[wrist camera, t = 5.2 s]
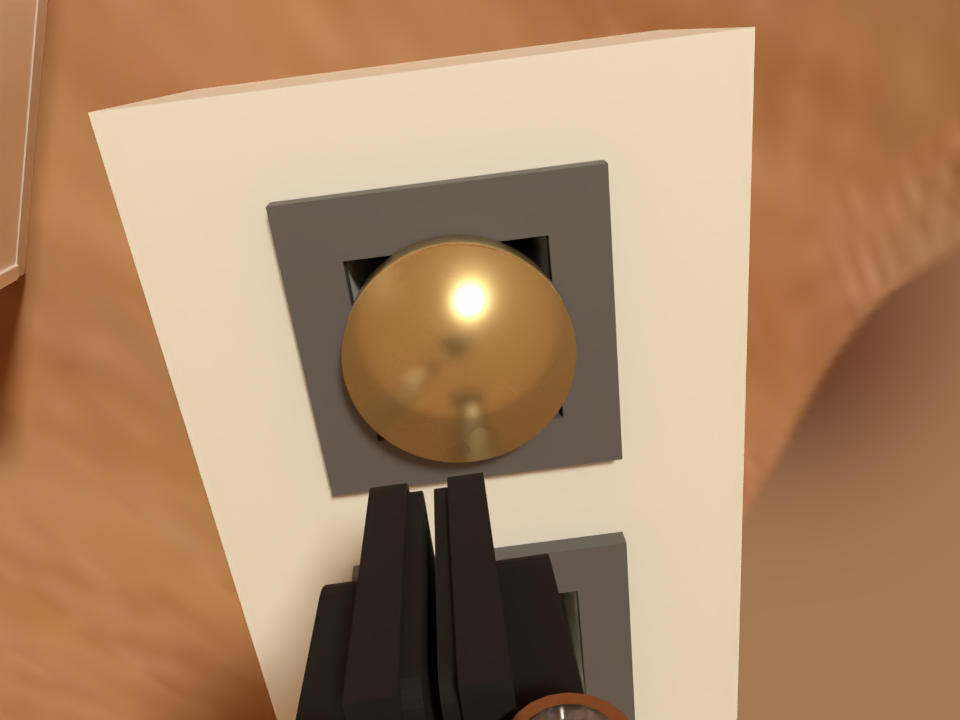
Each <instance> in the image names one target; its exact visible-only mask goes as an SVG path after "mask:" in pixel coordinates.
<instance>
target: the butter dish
mask: <svg viewBox="0 0 960 720" xmlns="http://www.w3.org/2000/svg"><path fill="white" fill-rule="evenodd" d="M47 8H48V0H0V289H2V288H4V287H5V286H7V285H9V284H11V283H12V282H14V281H16V280H18V277H20V276H21V275H23V274H24V273H25V262H26V250H27V239H28V227H29V216H30V204H31V193H32V181H33V170H34V158H35V146H36V135H37V123H38V112H39V100H40V89H41V77H42V66H43V54H44V43H45V31H46V20H47Z"/></svg>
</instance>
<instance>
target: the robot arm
mask: <svg viewBox="0 0 960 720" xmlns="http://www.w3.org/2000/svg"><path fill="white" fill-rule="evenodd" d="M434 525H435V556H434V550H433V544H432V538H431V533H430V527H429V521H428V515H427V509H426V503H425V498H424V493H423V491H415V492H410V490H409V486H408V484H407V483H401V484H394V485H387V486H380V487H373V488H370V490H369V496H368V504H367V512H366V519H365V527H364V535H363V543H362V551H361V558H360V566H359V574H358V580H357V581H350V582H343V583H336V584H328V585H324V586H323V587H322V590H321V593H320V596H319V602H318V607H317V612H316V617H315V622H314V627H313V632H312V637H311V642H310V648H309V653H308V658H307V663H306V668H305V673H304V678H303V683H302V689H301V694H300V699H299V704H298V709H297V714H296V719H295V720H629V719H628V718H627V717H626V715H625V714H624V713H623V712H621V711H620V710H619V709H617V708H616V707H614V706H613V705H612V704H610V703H609V702H607V701H605V700H602V699H599V698H597V697H594V696H591V695H588V694H584V691H583V687H582V683H581V679H580V675H579V671H578V667H577V663H576V659H575V655H574V651H573V647H572V643H571V639H570V635H569V631H568V628H567V624H566V620H565V616H564V612H563V608H562V604H561V600H560V596H559V592H558V588H557V584H556V580H555V576H554V572H553V568H552V564H551V560H550V557H549V555H548V553H547V554H540V555H533V556H526V557H519V558H512V559H505V560H498V561H496V559H495V552H494V545H493V538H492V531H491V524H490V517H489V510H488V503H487V496H486V489H485V482H484V475H483V472H480V473H473V474H466V475H459V476H452V477H447V487H444V488H436V489H434Z"/></svg>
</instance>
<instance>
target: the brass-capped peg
mask: <svg viewBox="0 0 960 720" xmlns="http://www.w3.org/2000/svg"><path fill="white" fill-rule="evenodd" d="M576 361H577V346H576V339H575V332H574V329H573V325H572V322H571V318H570V316H569V314H568V312H567V310H566V307H565V305H564V303H563V301H562V299H561V297H560V294H559V292H558V290H557V289H556V287H555V286H554V284H553V282H552V281H551V279H550V278H549V277H548V276H547V275H546V273H545V272H544V271H543V270H542V269H541V268H540V267H539V266H538V265H537V264H536V263H535V262H534V261H533V260H531V259H530V258H529V257H527V256H526V255H524V254H523V253H521V252H520V251H518V250H517V249H515V248H513V247H511V246H509V245H508V244H507V241H496V240H493V239H490V238H485V237H480V236H475V235H461V234H458V235H443V236H438V237H433V238H428V239H425V240H422V241H419V242H416V243H413V244H411V245H409V246H407V247H405V248H403V249H401V250H399V251H398V252H396V253H395V254H393V255H392V256H390V257H389V258H387V259H386V260H385V261H384V262H383V263H382V264H380V265H379V266H378V267H377V268H376V269H375V270H374V271H373V273H372V274H371V275H370V276H369V277H368V278H367V280H366V281H365V283H364V284H363V286H362V287H361V289H360V290H359V292H358V294H357V297H356V299H355V301H354V303H353V306H352V309H351V312H350V315H349V318H348V321H347V324H346V328H345V331H344V335H343V342H342V369H343V376H344V380H345V383H346V387H347V390H348V392H349V394H350V397H351V399H352V401H353V403H354V405H355V406H356V408H357V410H358V411H359V413H360V415H361V416H362V417H363V418H364V419H365V421H366V422H367V423H368V424H369V425H370V426H371V427H372V428H373V429H374V430H375V431H376V432H377V433H378V434H379V435H380V436H382V437H383V438H384V439H386V440H387V441H388V442H390V443H391V444H393V445H395V446H397V447H398V448H400V449H402V450H404V451H406V452H409V453H411V454H414V455H416V456H419V457H423V458H426V459H430V460H435V461H442V462H456V463H462V462H475V461H480V460H486V459H490V458H493V457H496V456H500V455H503V454H505V453H507V452H510V451H512V450H514V449H516V448H518V447H520V446H521V445H523V444H525V443H526V442H528V441H529V440H531V439H532V438H533V437H535V436H536V435H537V434H538V433H540V432H541V431H542V430H543V429H544V428H545V427H546V426H547V425H548V424H549V423H550V422H551V420H552V419H553V418H554V417H555V415H556V414H557V413H558V411H559V410H560V408H561V406H562V405H563V403H564V401H565V399H566V397H567V395H568V393H569V390H570V388H571V385H572V381H573V378H574V374H575V368H576Z"/></svg>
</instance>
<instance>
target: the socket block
mask: <svg viewBox="0 0 960 720" xmlns="http://www.w3.org/2000/svg"><path fill="white" fill-rule="evenodd" d="M754 47H755V27H742V28H710V29H679V30H656V31H648V32H640V33H633V34H625V35H617V36H609V37H601V38H594V39H586V40H578V41H570V42H563V43H555V44H547V45H539V46H531V47H524V48H516V49H508V50H500V51H492V52H485V53H477V54H469V55H461V56H453V57H446V58H438V59H430V60H422V61H415V62H407V63H399V64H391V65H383V66H376V67H368V68H360V69H352V70H344V71H337V72H329V73H321V74H313V75H305V76H298V77H290V78H282V79H274V80H266V81H259V82H251V83H243V84H235V85H228V86H220V87H212V88H204V89H196V90H191V91H187V92H182V93H177V94H173V95H168V96H163V97H159V98H154V99H149V100H145V101H140V102H135V103H131V104H126V105H121V106H117V107H112V108H108V109H103V110H98V111H94V112H89V113H88V114H89V117H90V120H91V124H92V127H93V130H94V133H95V136H96V140H97V143H98V146H99V149H100V152H101V156H102V159H103V162H104V165H105V169H106V172H107V175H108V178H109V181H110V185H111V188H112V191H113V194H114V197H115V201H116V204H117V207H118V210H119V214H120V217H121V220H122V223H123V226H124V230H125V233H126V236H127V239H128V242H129V246H130V249H131V252H132V255H133V259H134V262H135V265H136V268H137V271H138V275H139V278H140V281H141V284H142V287H143V291H144V294H145V297H146V300H147V304H148V307H149V310H150V313H151V316H152V320H153V323H154V326H155V329H156V332H157V336H158V339H159V342H160V345H161V349H162V352H163V355H164V358H165V361H166V365H167V368H168V371H169V374H170V377H171V381H172V384H173V387H174V390H175V394H176V397H177V400H178V403H179V406H180V410H181V413H182V416H183V419H184V422H185V426H186V429H187V432H188V435H189V439H190V442H191V445H192V448H193V451H194V455H195V458H196V461H197V464H198V467H199V471H200V474H201V477H202V480H203V484H204V487H205V490H206V493H207V496H208V500H209V503H210V506H211V509H212V512H213V516H214V519H215V522H216V525H217V529H218V532H219V535H220V538H221V541H222V545H223V548H224V551H225V554H226V557H227V561H228V564H229V567H230V570H231V574H232V577H233V580H234V583H235V586H236V590H237V593H238V596H239V599H240V602H241V606H242V609H243V612H244V615H245V619H246V622H247V625H248V628H249V631H250V635H251V638H252V641H253V644H254V647H255V651H256V654H257V657H258V660H259V663H260V667H261V670H262V673H263V676H264V680H265V683H266V686H267V689H268V692H269V696H270V699H271V702H272V705H273V708H274V712H275V715H276V718H277V720H295V719H296V714H297V709H298V704H299V699H300V694H301V689H302V683H303V678H304V673H305V668H306V663H307V658H308V653H309V648H310V642H311V637H312V632H313V627H314V622H315V617H316V612H317V607H318V602H319V596H320V593H321V590H322V587H323V586H324V585H328V584H336V583H343V582H350V581H357V580H358V574H359V566H360V558H361V551H362V543H363V535H364V527H365V519H366V512H367V504H368V496H369V490H370V488H373V487H380V486H387V485H394V484H401V483H407V484H408V486H409V490H410V492H415V491H423V493H424V498H425V503H426V509H427V515H428V521H429V527H430V533H431V538H432V544H433V550H434V556H435V525H434V489H436V488H444V487H447V477H452V476H459V475H466V474H473V473H480V472H483V475H484V482H485V489H486V496H487V503H488V510H489V517H490V524H491V531H492V538H493V545H494V552H495V559H496V561H498V560H505V559H512V558H519V557H526V556H533V555H540V554H547V553H548V555H549V557H550V560H551V564H552V568H553V572H554V576H555V580H556V584H557V588H558V592H559V596H560V600H561V604H562V608H563V612H564V616H565V620H566V624H567V628H568V631H569V635H570V639H571V643H572V647H573V651H574V655H575V659H576V663H577V667H578V671H579V675H580V679H581V683H582V687H583V691H584V694H588V695H591V696H594V697H597V698H599V699H602V700H605V701H607V702H609V703H610V704H612V705H613V706H614V707H616V708H617V709H619V710H620V711H621V712H623V713H624V714H625V715H626V717H627V718H628V719H629V720H737V696H738V659H739V657H738V655H739V621H740V618H739V617H740V582H741V580H740V579H741V544H742V543H741V542H742V506H743V467H744V429H745V391H746V353H747V314H748V276H749V238H750V200H751V161H752V123H753V85H754ZM458 234H461V235H475V236H480V237H485V238H490V239H493V240H496V241H507V240H514V239H521V240H522V250H523V254H524V255H526V256H527V257H529V258H530V259H531V260H533V261H534V262H535V263H536V264H537V265H538V266H539V267H540V268H541V269H542V270H543V271H544V272H545V273H546V275H547V276H548V277H549V278H550V279H551V281H552V282H553V284H554V286H555V287H556V289H557V290H558V292H559V294H560V297H561V299H562V301H563V303H564V305H565V307H566V310H567V312H568V314H569V316H570V318H571V322H572V325H573V329H574V332H575V339H576V346H577V361H576V368H575V374H574V378H573V381H572V385H571V388H570V390H569V393H568V395H567V397H566V399H565V401H564V403H563V405H562V406H561V408H560V410H559V411H558V413H557V414H556V415H555V417H554V418H553V419H552V420H551V422H550V423H549V424H548V425H547V426H546V427H545V428H544V429H543V430H542V431H541V432H540V433H538V434H537V435H536V436H535V437H533V438H532V439H531V440H529V441H528V442H526V443H525V444H523V445H521V446H520V447H518V448H516V449H514V450H512V451H510V452H507V453H505V454H503V455H500V456H496V457H493V458H490V459H486V460H480V461H475V462H462V463H456V462H442V461H435V460H430V459H426V458H423V457H419V456H416V455H414V454H411V453H409V452H406V451H404V450H402V449H400V448H398V447H397V446H395V445H393V444H391V443H390V442H388V441H387V440H386V439H384V438H383V437H382V436H380V435H379V434H378V433H377V432H376V431H375V430H374V429H373V428H372V427H371V426H370V425H369V424H368V423H367V422H366V421H365V419H364V418H363V417H362V416H361V415H360V413H359V411H358V410H357V408H356V406H355V405H354V403H353V401H352V399H351V397H350V394H349V392H348V390H347V387H346V383H345V380H344V376H343V369H342V342H343V335H344V331H345V328H346V324H347V321H348V318H349V315H350V312H351V309H352V306H353V303H354V301H355V299H356V297H357V294H358V292H359V290H360V289H361V287H362V286H363V284H364V283H365V281H366V280H367V278H368V277H369V276H370V275H371V274H372V273H373V271H374V270H375V269H376V268H377V267H378V266H379V265H380V264H382V263H383V262H384V257H383V256H390V255H393V254H395V253H396V252H398V251H399V250H401V249H403V248H405V247H407V246H409V245H411V244H413V243H416V242H419V241H422V240H425V239H428V238H433V237H438V236H443V235H458Z"/></svg>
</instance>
